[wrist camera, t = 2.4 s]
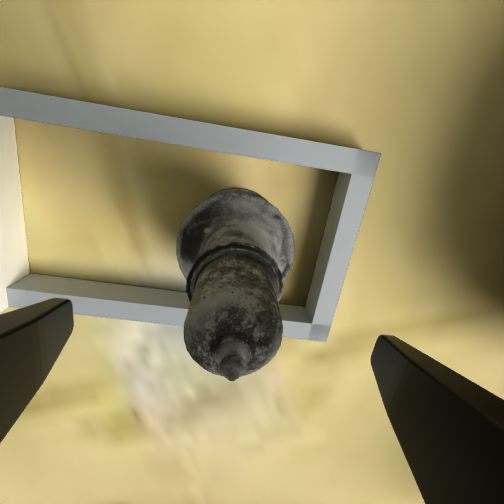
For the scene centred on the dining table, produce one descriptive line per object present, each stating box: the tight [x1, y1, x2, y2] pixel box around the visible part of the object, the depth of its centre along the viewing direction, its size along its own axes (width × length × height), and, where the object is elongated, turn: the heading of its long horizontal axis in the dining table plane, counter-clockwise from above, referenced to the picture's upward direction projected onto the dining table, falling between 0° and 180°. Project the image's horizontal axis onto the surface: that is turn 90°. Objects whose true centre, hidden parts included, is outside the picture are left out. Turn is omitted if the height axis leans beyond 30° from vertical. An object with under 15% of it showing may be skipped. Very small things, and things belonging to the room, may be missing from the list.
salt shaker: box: [176, 188, 295, 381], centre depth 12 cm, size 6×6×12 cm
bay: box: [0, 87, 381, 342], centre depth 16 cm, size 20×11×3 cm, turn 81°
